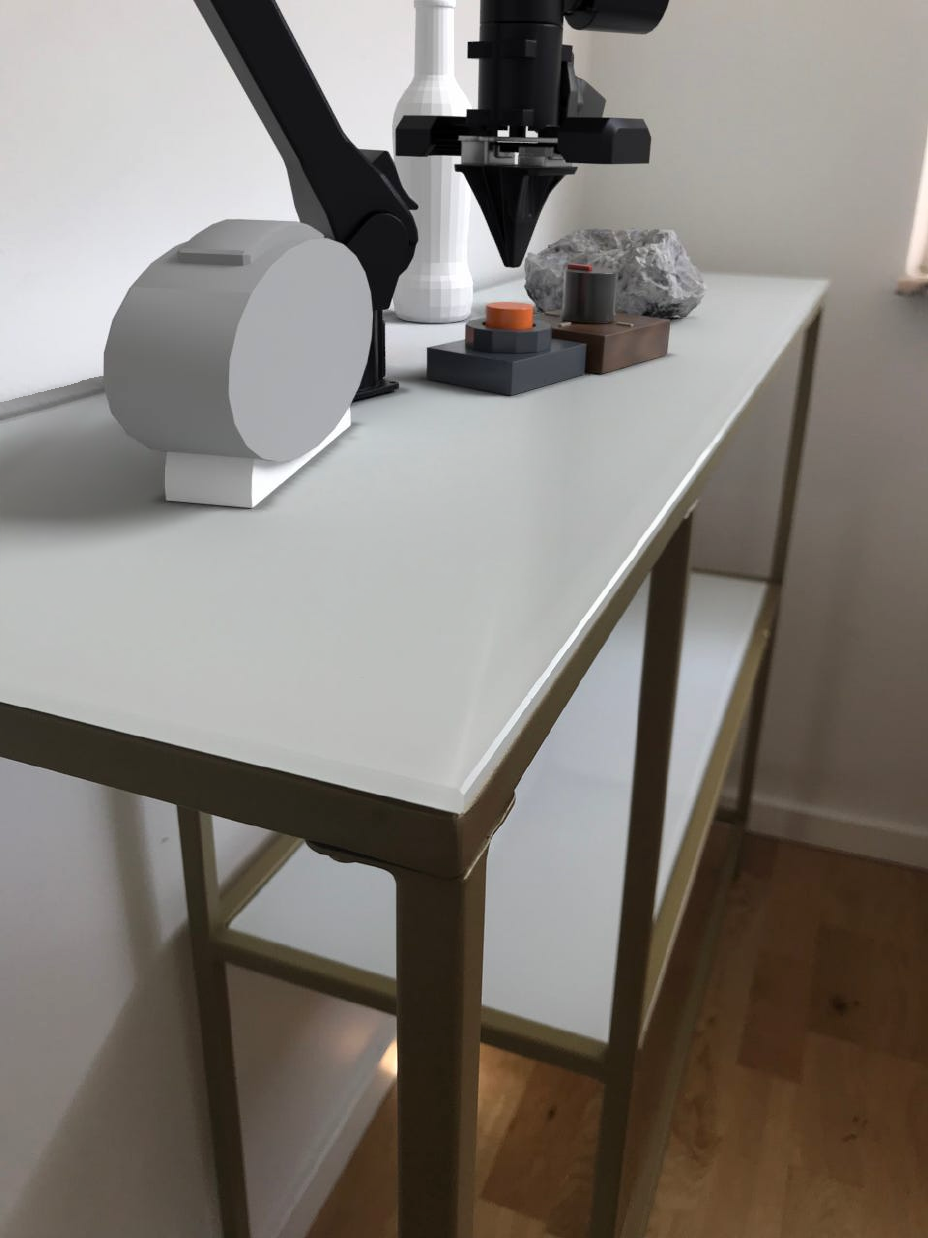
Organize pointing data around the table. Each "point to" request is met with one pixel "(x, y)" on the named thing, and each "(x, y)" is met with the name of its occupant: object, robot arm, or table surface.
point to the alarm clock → (240, 356)
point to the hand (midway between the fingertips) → (512, 266)
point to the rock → (621, 271)
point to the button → (509, 315)
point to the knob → (589, 294)
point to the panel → (613, 339)
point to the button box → (506, 358)
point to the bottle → (435, 181)
